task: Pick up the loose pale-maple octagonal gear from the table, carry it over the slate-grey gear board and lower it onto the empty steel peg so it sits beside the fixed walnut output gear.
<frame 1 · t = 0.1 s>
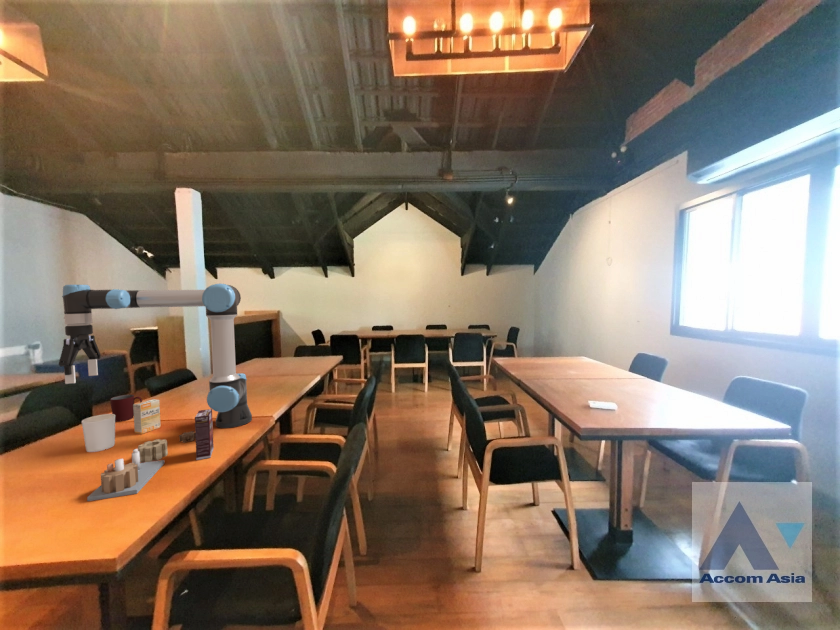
hand: (82, 379, 132), 28 cm above the table, fingers open, 13 cm apart
gear board: (130, 480, 110), on the table
candle holder: (100, 448, 135), on the table
mug: (127, 419, 169), on the table
maple gear: (153, 457, 126), on the table
supplement box 2: (148, 430, 153), on the table
supplement box: (205, 454, 128), on the table
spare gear: (188, 439, 142), on the table
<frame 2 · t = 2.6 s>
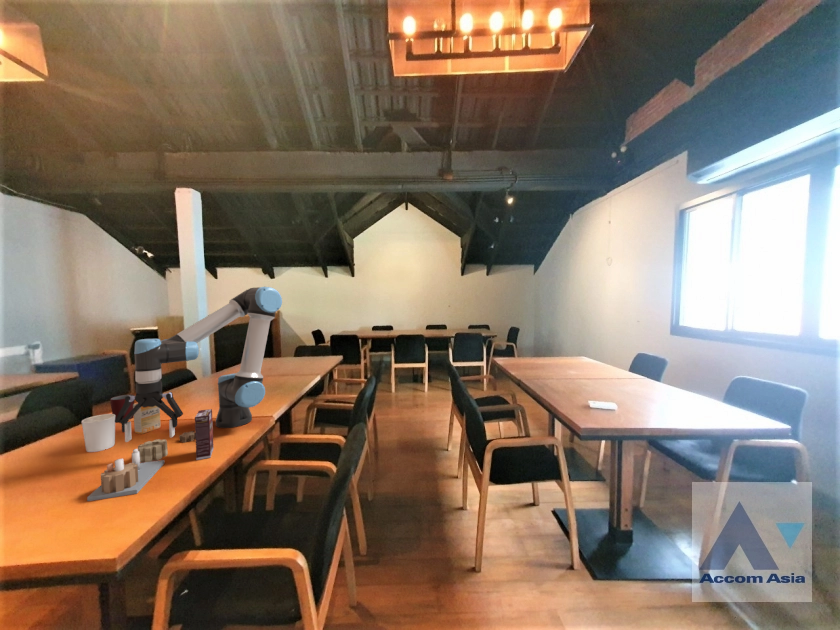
hand: (150, 438, 126), 7 cm above the table, fingers open, 13 cm apart
nothing on the table moved.
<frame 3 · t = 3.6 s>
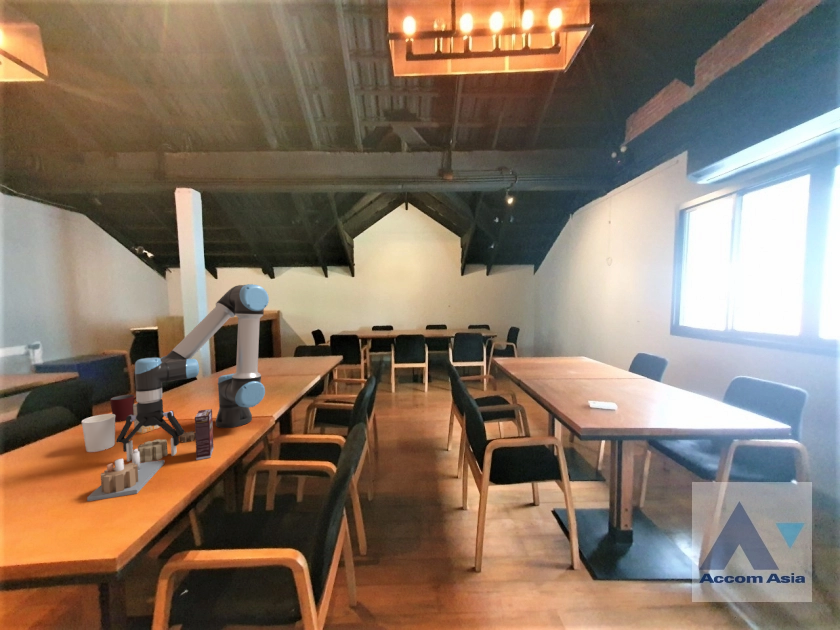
hand: (152, 457, 126), 0 cm above the table, fingers open, 13 cm apart
nothing on the table moved.
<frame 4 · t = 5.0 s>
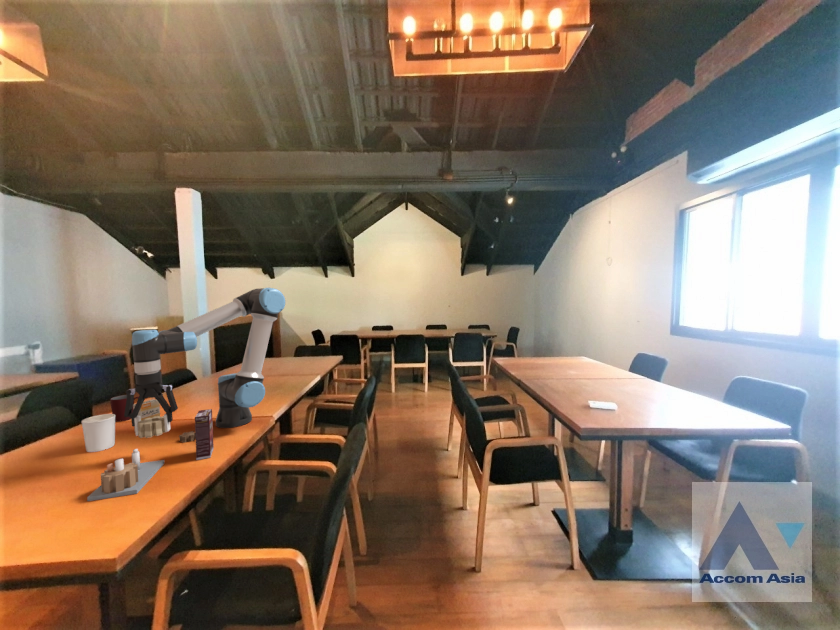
hand: (153, 432, 126), 9 cm above the table, fingers closed on maple gear, 8 cm apart
maple gear: (153, 433, 126), point 9 cm above the table, touching gripper
everything else where it was.
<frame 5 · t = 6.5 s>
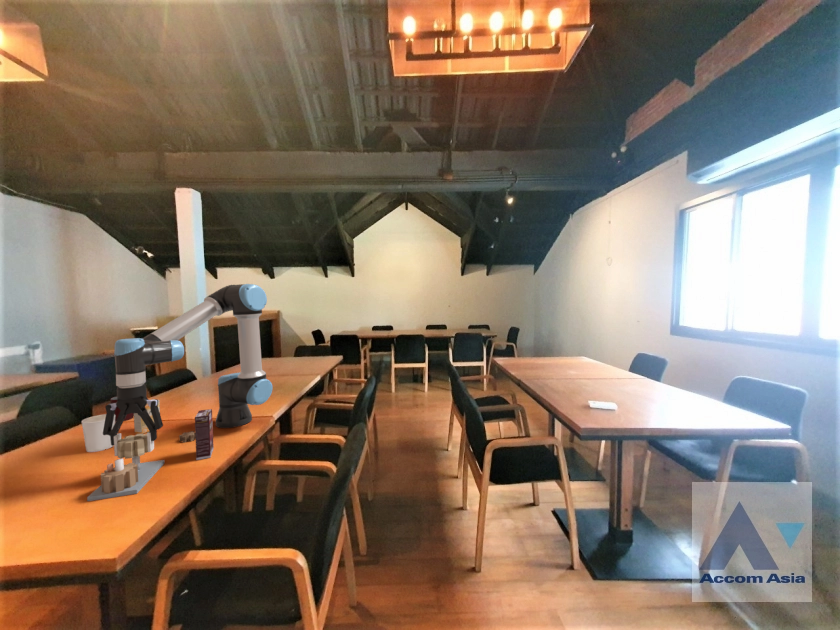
hand: (134, 452, 114), 7 cm above the table, fingers closed on maple gear, 8 cm apart
maple gear: (134, 452, 114), point 7 cm above the table, touching gripper
everything else where it was.
when the fingers open (3 cm above the table, at t = 8.0 s): maple gear drops 1 cm, resting on gear board.
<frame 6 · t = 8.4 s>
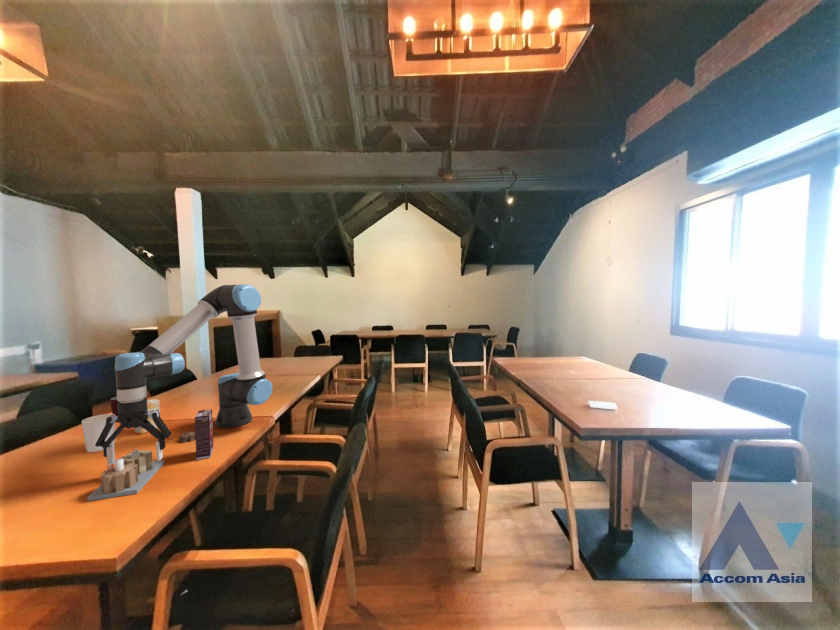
hand: (136, 462, 114), 4 cm above the table, fingers open, 13 cm apart
maple gear: (136, 470, 114), point 1 cm above the table, touching gear board
everything else where it was.
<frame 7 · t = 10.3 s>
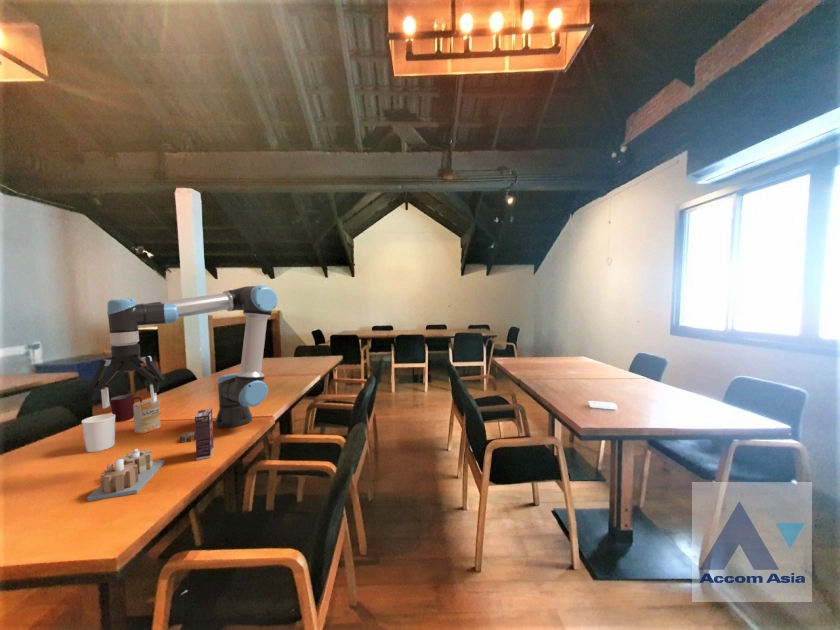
hand: (130, 404, 119), 22 cm above the table, fingers open, 13 cm apart
nothing on the table moved.
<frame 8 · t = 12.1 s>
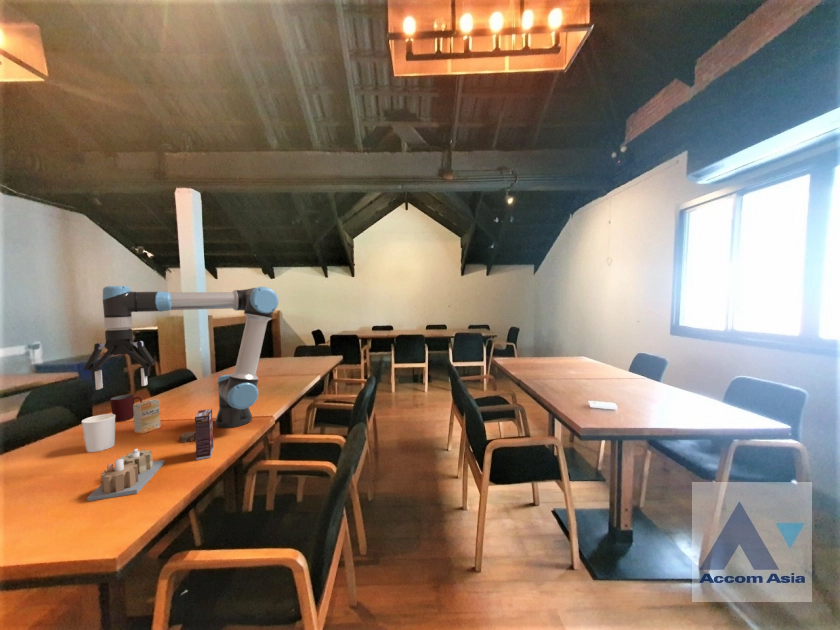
hand: (122, 387, 124), 27 cm above the table, fingers open, 13 cm apart
nothing on the table moved.
at the end: maple gear 0.0 cm from the target spot on the gear board, point 1.2 cm above the gear board's base; maple gear tilted 0°; the gripper is holding nothing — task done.
